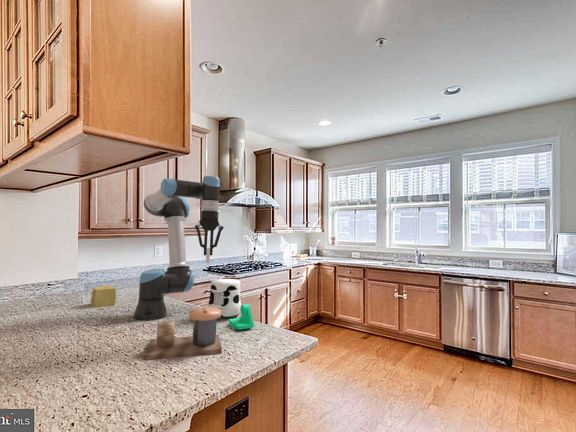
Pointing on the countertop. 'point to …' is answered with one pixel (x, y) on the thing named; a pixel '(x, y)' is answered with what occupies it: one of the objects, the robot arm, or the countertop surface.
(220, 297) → the milk container
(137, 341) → the countertop surface
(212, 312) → the domed pot lid
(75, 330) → the countertop surface
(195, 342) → the tube
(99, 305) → the cheese
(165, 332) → the brown board with post
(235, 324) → the camera mount
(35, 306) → the countertop surface
